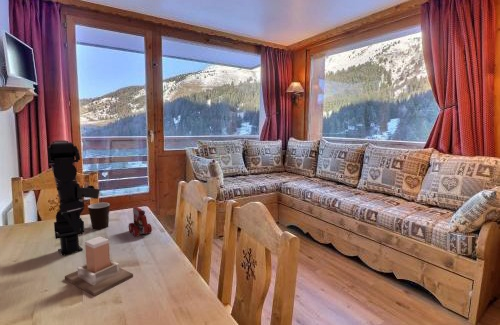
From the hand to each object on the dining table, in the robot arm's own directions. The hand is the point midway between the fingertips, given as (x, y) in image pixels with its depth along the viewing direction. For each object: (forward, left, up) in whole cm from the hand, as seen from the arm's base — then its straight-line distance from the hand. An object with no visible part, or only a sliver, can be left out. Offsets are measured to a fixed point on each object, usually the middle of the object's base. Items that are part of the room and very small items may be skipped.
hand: (77, 229), depth 93 cm
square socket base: (+11, +2, -13) cm, 17 cm away
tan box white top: (+11, +2, -12) cm, 16 cm away
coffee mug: (-34, +20, -13) cm, 41 cm away
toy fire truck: (-14, +28, -13) cm, 34 cm away
